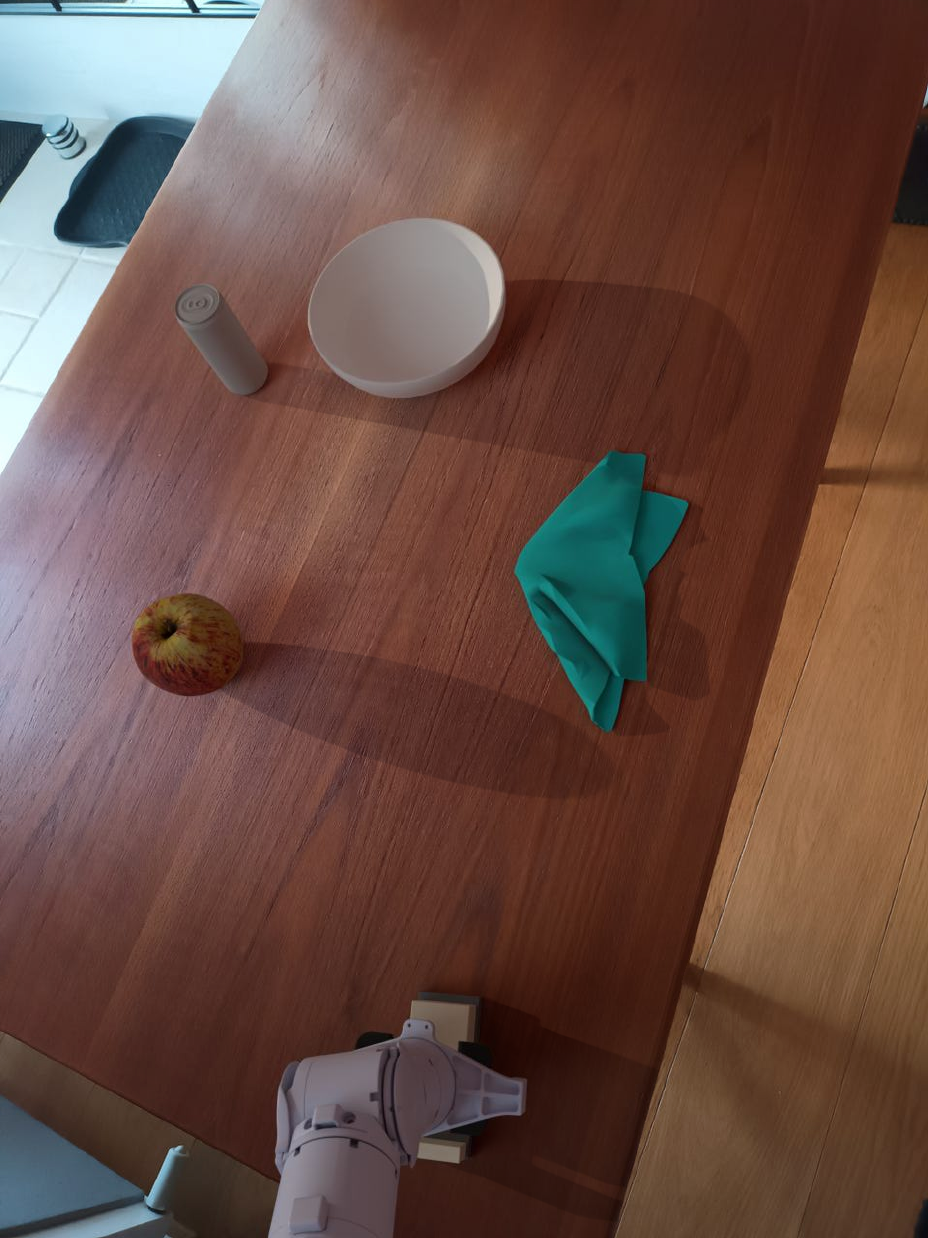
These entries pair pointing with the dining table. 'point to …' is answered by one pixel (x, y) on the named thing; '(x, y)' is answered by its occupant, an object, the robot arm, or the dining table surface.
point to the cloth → (599, 578)
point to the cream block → (452, 1025)
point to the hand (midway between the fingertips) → (442, 1073)
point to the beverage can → (220, 338)
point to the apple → (187, 644)
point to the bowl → (408, 307)
